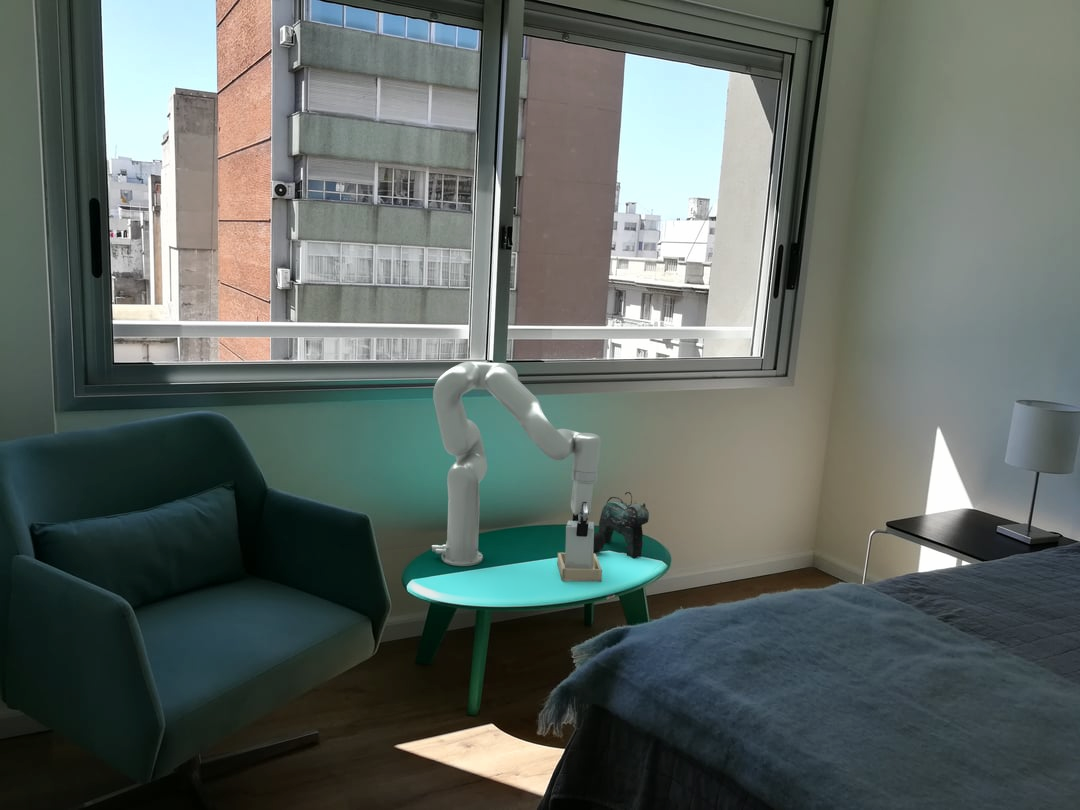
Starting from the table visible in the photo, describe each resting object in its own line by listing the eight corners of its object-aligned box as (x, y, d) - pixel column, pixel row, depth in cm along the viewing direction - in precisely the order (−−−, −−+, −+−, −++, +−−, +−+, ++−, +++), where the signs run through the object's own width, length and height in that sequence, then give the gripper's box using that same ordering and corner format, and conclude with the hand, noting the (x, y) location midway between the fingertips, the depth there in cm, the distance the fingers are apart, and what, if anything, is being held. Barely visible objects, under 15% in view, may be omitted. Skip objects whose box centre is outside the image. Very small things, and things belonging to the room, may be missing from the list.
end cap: (579, 560, 268) (580, 539, 266) (565, 552, 273) (566, 532, 272) (603, 554, 273) (605, 534, 272) (590, 547, 279) (591, 527, 278)
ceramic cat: (647, 558, 272) (652, 497, 269) (631, 561, 269) (636, 500, 265) (607, 538, 288) (612, 481, 284) (592, 541, 285) (596, 483, 281)
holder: (562, 581, 250) (562, 569, 250) (557, 563, 264) (557, 552, 263) (601, 581, 251) (602, 570, 251) (594, 564, 265) (595, 553, 264)
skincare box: (592, 568, 260) (595, 521, 257) (591, 575, 254) (594, 528, 251) (565, 565, 261) (568, 518, 258) (563, 573, 255) (566, 525, 252)
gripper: (568, 466, 260) (563, 520, 263) (575, 483, 243) (570, 540, 246) (592, 467, 260) (587, 521, 264) (601, 484, 244) (596, 541, 247)
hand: (579, 530), depth 255 cm, fingers open, 9 cm apart
